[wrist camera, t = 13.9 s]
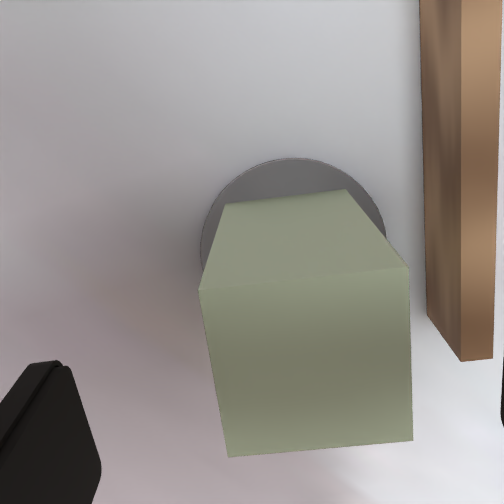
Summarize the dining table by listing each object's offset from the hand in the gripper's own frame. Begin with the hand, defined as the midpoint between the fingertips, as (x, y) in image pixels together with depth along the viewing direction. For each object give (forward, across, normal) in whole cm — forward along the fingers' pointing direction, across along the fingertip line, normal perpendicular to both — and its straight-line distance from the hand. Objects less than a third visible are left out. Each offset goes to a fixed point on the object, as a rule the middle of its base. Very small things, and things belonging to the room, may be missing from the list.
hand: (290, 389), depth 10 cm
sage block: (+11, -1, +1) cm, 11 cm away
